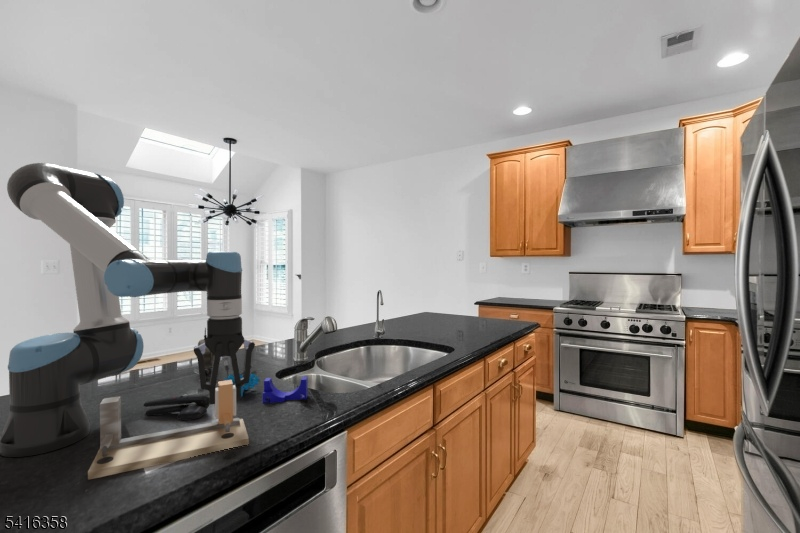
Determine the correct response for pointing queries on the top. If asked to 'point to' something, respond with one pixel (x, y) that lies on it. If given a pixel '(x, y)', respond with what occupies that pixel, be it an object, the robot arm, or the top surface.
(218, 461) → the top surface
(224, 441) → the plate
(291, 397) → the cable clip
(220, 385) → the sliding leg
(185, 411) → the can opener
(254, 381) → the gear
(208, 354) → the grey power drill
